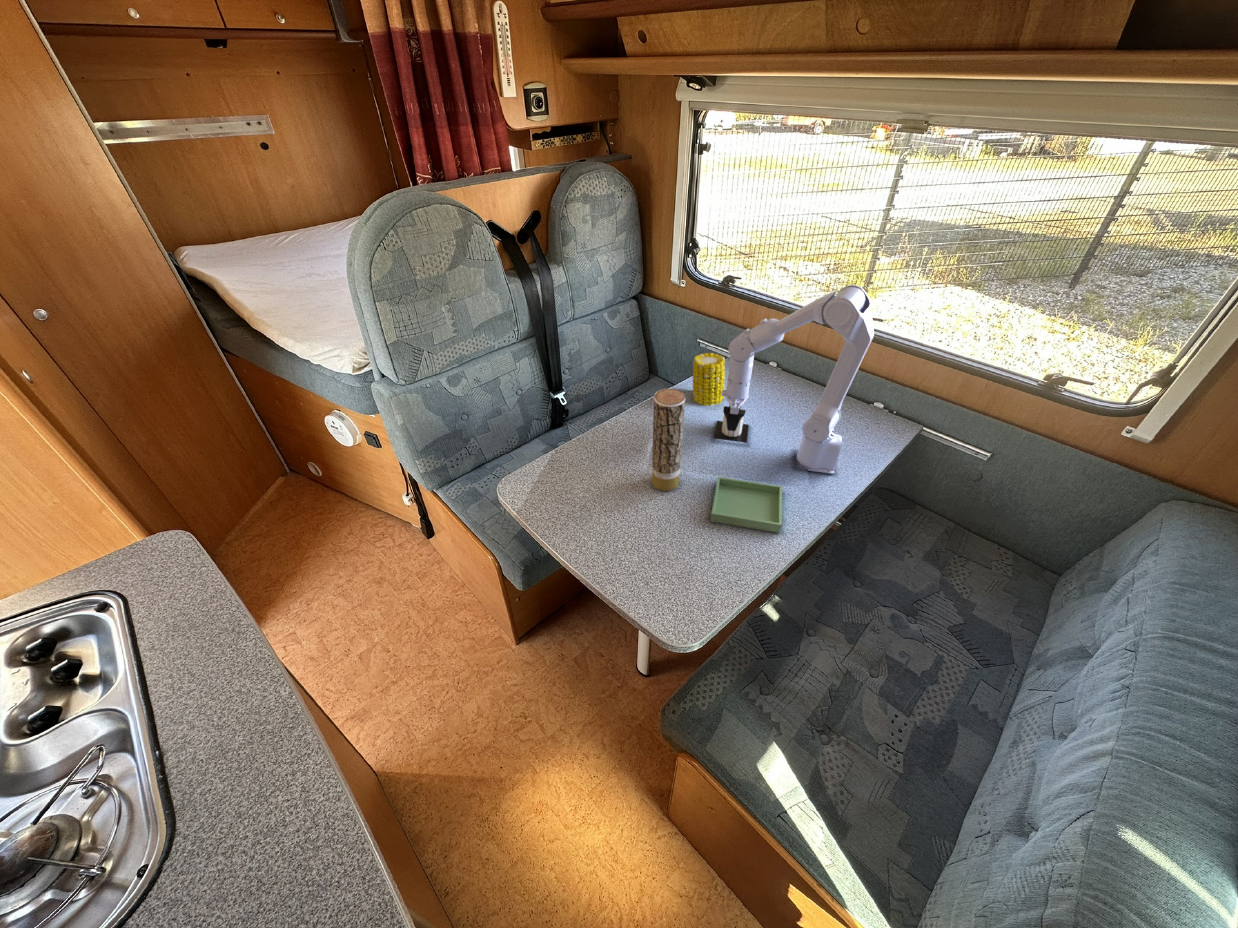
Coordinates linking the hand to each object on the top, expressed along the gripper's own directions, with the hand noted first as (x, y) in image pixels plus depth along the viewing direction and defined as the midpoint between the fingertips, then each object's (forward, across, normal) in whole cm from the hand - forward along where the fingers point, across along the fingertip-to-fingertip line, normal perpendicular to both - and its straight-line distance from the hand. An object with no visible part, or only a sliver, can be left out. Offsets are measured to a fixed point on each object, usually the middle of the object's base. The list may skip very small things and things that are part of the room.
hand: (732, 422), depth 136 cm
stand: (+4, 0, 0) cm, 4 cm away
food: (+4, -17, -9) cm, 20 cm away
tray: (+4, +29, +6) cm, 30 cm away
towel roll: (+3, 0, 0) cm, 3 cm away
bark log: (+4, +25, -14) cm, 29 cm away
